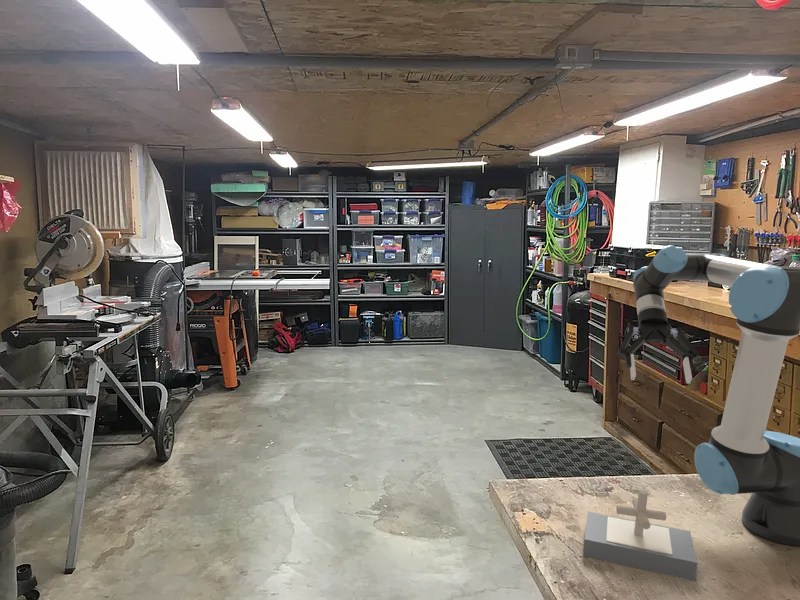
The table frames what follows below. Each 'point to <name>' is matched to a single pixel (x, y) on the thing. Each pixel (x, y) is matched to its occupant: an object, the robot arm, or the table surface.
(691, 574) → the grey flat block
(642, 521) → the pipe connector
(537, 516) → the table surface
